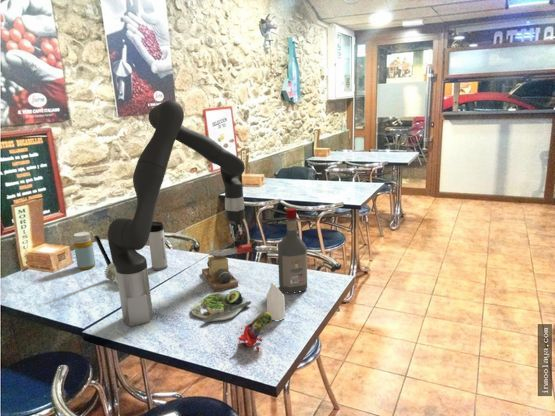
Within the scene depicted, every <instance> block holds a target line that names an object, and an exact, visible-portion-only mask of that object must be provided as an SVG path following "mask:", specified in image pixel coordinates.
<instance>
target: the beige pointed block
mask: <svg viewBox="0 0 555 416" xmlns="http://www.w3.org/2000/svg"><path fill="white" fill-rule="evenodd" d="M285 305H286V304H285V295H284V294H283V293H282V291H280V289H279V288H278V287H277V286H276V283H274V282H271V284H270V287H269V290H268V292H267V293H266V312H270V313H271V315H272V320H280V319H283V318H284V317H285V318H286V306H285Z"/></svg>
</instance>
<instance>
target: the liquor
mask: <svg viewBox="0 0 555 416" xmlns="http://www.w3.org/2000/svg"><path fill="white" fill-rule="evenodd" d="M297 214H298V213H297V208H296V207H288V208H286V209H285V215H286V232H285V233H286V235H285V236H284V237H283V238H282V239H281V240H280V241H279V243H278V245H277V259H278V263H277V264H278V265H277V266H278V283H279V284H278V285H279V287H280V289H281V288H282V289H281V290H282V291H283V293H284V292H288V293H294V292H299V291H304V290H305V289H306V290H307V288H308V247H307V245H306V243H305V242H304V241H303V240H302V239H301V238H300V236H299V235H298V230H297V229H298V228H297V217H298V216H297ZM306 290H305V291H306ZM305 291H304V292H305ZM288 293H287V294H288ZM294 294H295V293H294Z"/></svg>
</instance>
